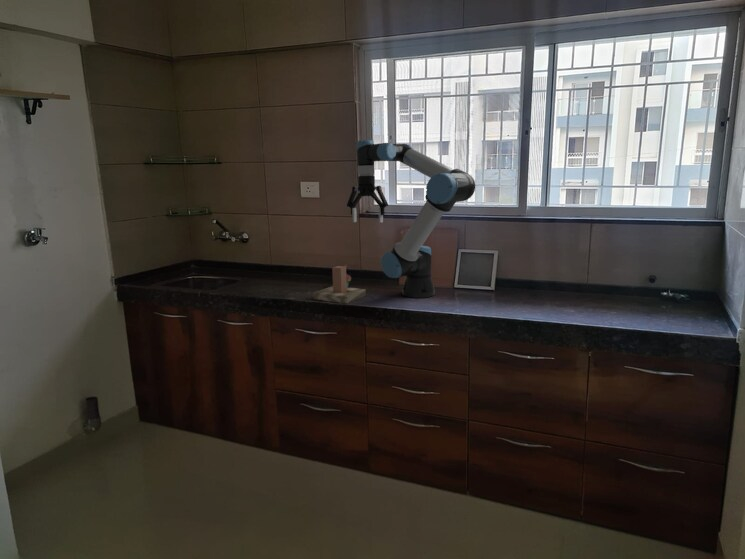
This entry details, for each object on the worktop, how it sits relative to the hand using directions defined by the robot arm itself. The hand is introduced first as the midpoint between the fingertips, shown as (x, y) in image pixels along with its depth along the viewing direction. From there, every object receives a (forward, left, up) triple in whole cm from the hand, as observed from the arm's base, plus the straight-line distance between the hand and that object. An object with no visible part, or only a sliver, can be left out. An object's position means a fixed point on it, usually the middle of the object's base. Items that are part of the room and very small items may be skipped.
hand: (367, 222), depth 241 cm
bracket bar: (+8, +13, -33) cm, 37 cm away
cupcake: (+18, -5, -34) cm, 38 cm away
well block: (+8, +13, -34) cm, 37 cm away
